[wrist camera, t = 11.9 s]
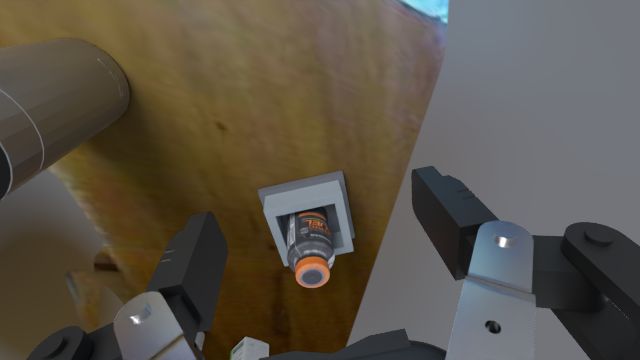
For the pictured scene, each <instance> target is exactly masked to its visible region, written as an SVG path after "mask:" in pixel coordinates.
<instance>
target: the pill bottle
mask: <svg viewBox="0 0 640 360" xmlns="http://www.w3.org/2000/svg"><path fill="white" fill-rule="evenodd" d="M334 259H335V254H334V248H333V242H332V237H331V231H330V226H329V221H328V215H327V212H326V210H325V209H324V208H323V207H322V206H321V207H316V208H312V209H307V210H303V211H298V212H294V213H289V214H288V218H287V261H288V264H289V266H290V268H291V269H292V270H293V271H294V272H295V273H296V280H297V282H298V283H299V284H300V285H302V286H304V287H307V288H316V287H320V286H322V285H323V284H325V283H326V282H327V281H328V279H329V277H330V271H329V269H330V268H331V267H332V265H333V263H334Z"/></svg>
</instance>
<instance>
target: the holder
mask: <svg viewBox="0 0 640 360" xmlns="http://www.w3.org/2000/svg"><path fill="white" fill-rule="evenodd" d="M258 195H259V197H260V200H261V203H262V205H263V208H264V214H265V217H266V219H267V222H268V224H269V227H270V230H271V232H272V235H273V237H274V240H275V243H276V245H277V248H278V251H279V253H280V256H281V258H282V261H283V264H284V266H289V264H288V261H287V218H288V214H289V213H294V212H298V211H303V210H307V209H312V208H316V207H321V206H322V207H323V208H324V209H325V210H326V212H327V215H328V221H329V226H330V231H331V237H332V242H333V248H334V254H335V255H339V254H344V253H348V252H353V251H354V250H353V245H352V240H351V239H352V238H355V234H354V229H353V224H352V218H351V213H350V208H349V203H348V197H347V192H346V187H345V182H344V176H343V172H342V170H341V171H336V172H332V173H327V174H323V175H319V176H314V177H310V178H305V179H301V180H297V181H292V182H288V183H283V184H279V185H274V186H270V187H266V188H261V189H258Z"/></svg>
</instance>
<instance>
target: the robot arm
mask: <svg viewBox="0 0 640 360" xmlns="http://www.w3.org/2000/svg"><path fill="white" fill-rule="evenodd" d="M129 101H130V90H129V86H128V82H127V80H126V78H125V75H124V73H123V72H122V70H121V69H120V67H119V66H118V65H117V64H116V62H115V61H114V60H113V59H112V58H111V57H110V56H109V55H107V54H106V53H105V52H104V51H102V50H101V49H99V48H97V47H96V46H94V45H92V44H90V43H87V42H84V41H82V40H77V39H72V38H60V39H54V40H48V41H41V42H35V43H28V44H22V45H16V46H10V47H3V48H0V201H1V200H2V199H3V198H5V197H6V196H8V195H9V194H11V193H12V192H13V191H15V190H16V189H17V188H19V187H21V186H22V185H24V184H25V183H26V182H28V181H29V180H31V179H32V178H34V177H35V176H36V175H38V174H39V173H41V172H42V171H43V170H45V169H46V168H48V167H49V166H51V165H52V164H54V163H55V162H56V161H58V160H59V159H61V158H62V157H64V156H65V155H67V154H68V153H70V152H71V151H72V150H74V149H75V148H77V147H78V146H80V145H81V144H83V143H84V142H85V141H87V140H88V139H90V138H91V137H93V136H94V135H96V134H97V133H98V132H100V131H102V130H103V129H104V128H106V127H107V126H109V125H110V124H112V123H113V122H115V121H116V120H117V119H119V118H120V117H121V116H122V115H123V114H124V113H125V111H126V110H127V108H128V105H129ZM412 205H413V210H414V213H415V215H416V217H417V219H418V220H419V222H420V223H421V225H422V227H423V229H424V230H425V232H426V233H427V235H428V237H429V238H430V240H431V241H432V243H433V245H434V246H435V248H436V250H437V251H438V253H439V255H440V256H441V258H442V259H443V261H444V263H445V264H446V266H447V268H448V269H449V271H450V272H451V274H452V276H453V277H454V279H455V280H461V279H465V281H464V285H463V289H462V293H461V297H460V301H459V305H458V309H457V313H456V317H455V321H454V325H453V330H452V334H451V338H450V342H449V346H448V350H447V351H445V350H443V349H441V348H439V347H436V346H434V345H431V344H427V343H424V342H419V341H411V340H408V337H407V334H406V331H405V329H400V330H396V331H390V332H386V333H381V334H376V335H371V336H368V337H366V338H364V339H362V340H360V341H358V342H356V343H354V344H352V345H350V346H348V347H346V348H344V349H342V350H340V351H338V352H335V353H330V354H329V353H314V352H299V351H293V352H288V353H283V354H278V355H273V356H269V357H264V358H259V360H534V348H535V311H536V307H541V308H550V309H551V310H552V311H553V313H554V314H555V315H556V316H557V318H558V319H559V320H560V321H561V323H562V324H563V325H564V326H565V328H566V329H567V330H568V332H569V333H570V334H571V335H572V337H573V338H574V339H575V340H576V342H577V343H578V344H579V346H580V347H581V348H582V349H583V351H584V352H585V353H586V354H587V356H588V357H589V358H590V359H591V360H640V246H639V245H637V244H636V243H635V242H633V241H632V240H631V239H629V238H628V237H626V236H625V235H624V234H622V233H621V232H619V231H617V230H615V229H613V228H610V227H608V226H604V225H601V224H597V223H589V222H580V223H574V224H572V225H570V226H568V227H567V228H566V230H565V233H564V236H536V235H531V234H530V233H529V232H528V231H527V230H526V229H525V228H523V227H521V226H519V225H517V224H515V223H512V222H507V221H500V220H499V219H498V218H497V217H496V216H495V215H494V214H493V213H492V212H491V211H490V210H489V209H488V208H487V207H486V206H485V205H484V204H483V203H482V202H481V201H480V200H479V199H478V198H477V197H475V195H474V194H473V193H472V192H471V191H469V189H468V188H467V187H466V186H465V185H464V184H463V183H462V182H461V181H460V180H458V179H456V178H453V177H451V176H449V175H448V176H442V175H441V174H440V173H439V172H438V171H437V170H436V169H435V167H434V166H428V167H423V168H419V169H414V170H413V171H412ZM227 253H228V250H227V243H226V240H225V238H224V236H223V233H222V231H221V229H220V227H219V225H218V223H217V221H216V218H215V216H214V214H213V213H212V212H210V211H209V212H204V213H199V214H195V215H191V216H190V217H189V219H188V221H187V223H186V225H185V228H184V230H179V231H178V233H177V234H176V235H175V236H174V237H173V238H172V239H171V240H170V241H169V243H168V245H167V247H166V250H165V253H164V254H163V256H162V258H161V262H159V264H158V266H157V268H156V270H155V272H154V274H153V276H152V279H151V281H150V283H149V285H148V287H147V289H146V291H145V293H143V294H141V295H139V296H137V297H135V298H133V299H132V300H130V301H129V302H128V303H127V304H126V305H125V306H124V307H123V308H122V309H121V310H120V311H119V313H118V314H117V315H116V317H115V320H114V322H113V323H111V324H108V325H106V326H104V327H102V328H100V329H98V330H96V331H93V332H91V333H89V334H87V333H86V332H84V331H83V330H82V329H81V328H80V327H78V326H70V327H66V328H64V329H61V330H59V331H57V332H55V333H53V334H52V335H51V336H49V337H47V338H46V339H45V340H44V341H42V342H41V343H40V344H39V345H38V346H37V347H36V348H35V349H34V350H33V351H32V352H31V354H30V355H29V357H28V358H27V360H206V359H205V357H204V355H203V354H202V352H201V350H200V349H199V347H198V345H197V344H196V342H195V340H196V336H197V333H198V332H203V331H208V330H210V329H211V325H212V321H213V316H214V312H215V307H216V303H217V299H218V294H219V290H220V285H221V281H222V276H223V272H224V268H225V263H226V259H227ZM613 303H614V304H615V305H616V306H617V307H618V308H619V309H620V310H621V311H622V312H623V313H624V314H625V315H626V316H627V317H628V318H627V317H626V316H625V315H624V314H623V313H622V312H621V311H620V310H619V309H618V308H617V307H616V306H615V305H614V304H613Z"/></svg>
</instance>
